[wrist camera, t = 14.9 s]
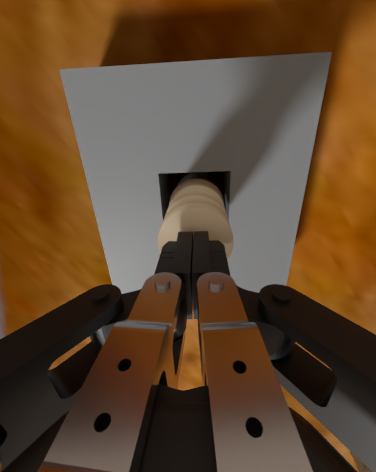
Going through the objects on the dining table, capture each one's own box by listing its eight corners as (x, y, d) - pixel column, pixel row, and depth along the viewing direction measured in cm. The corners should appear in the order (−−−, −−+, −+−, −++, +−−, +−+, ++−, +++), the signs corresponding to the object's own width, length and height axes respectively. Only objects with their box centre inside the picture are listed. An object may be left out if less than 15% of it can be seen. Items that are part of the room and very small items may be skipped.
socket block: (94, 83, 18) (59, 69, 14) (297, 70, 17) (332, 51, 13) (129, 267, 26) (115, 297, 22) (269, 266, 25) (284, 296, 21)
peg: (173, 167, 21) (151, 207, 11) (219, 166, 20) (238, 205, 11) (176, 210, 23) (160, 276, 13) (218, 209, 22) (233, 276, 13)
